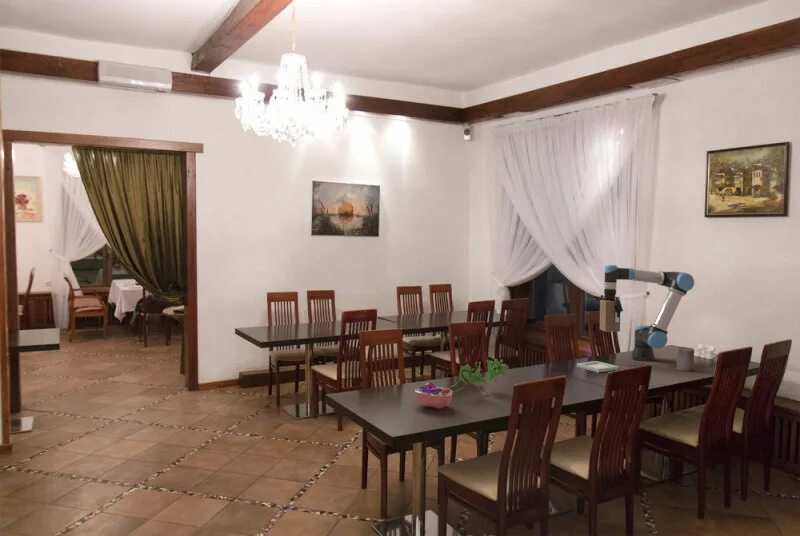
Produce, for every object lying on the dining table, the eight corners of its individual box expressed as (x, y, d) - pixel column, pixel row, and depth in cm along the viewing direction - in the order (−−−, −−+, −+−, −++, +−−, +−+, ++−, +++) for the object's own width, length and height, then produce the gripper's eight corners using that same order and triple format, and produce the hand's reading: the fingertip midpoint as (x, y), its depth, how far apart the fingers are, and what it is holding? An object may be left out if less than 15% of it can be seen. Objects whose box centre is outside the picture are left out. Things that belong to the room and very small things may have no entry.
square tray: (596, 364, 385) (597, 361, 385) (618, 369, 369) (618, 366, 369) (576, 366, 377) (576, 363, 377) (598, 372, 361) (598, 369, 361)
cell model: (433, 415, 270) (433, 391, 269) (407, 405, 286) (408, 382, 286) (461, 409, 280) (461, 386, 279) (434, 399, 296) (434, 377, 296)
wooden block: (620, 331, 383) (620, 301, 382) (605, 332, 382) (605, 301, 381) (614, 329, 393) (614, 299, 392) (599, 329, 392) (599, 299, 391)
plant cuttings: (448, 410, 301) (475, 392, 287) (435, 380, 308) (460, 360, 294) (493, 399, 324) (519, 381, 309) (479, 371, 331) (505, 352, 317)
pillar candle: (689, 368, 376) (690, 345, 375) (695, 371, 366) (696, 348, 366) (674, 368, 377) (674, 344, 376) (679, 371, 367) (680, 347, 367)
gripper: (591, 287, 395) (591, 318, 396) (621, 290, 373) (620, 323, 375) (599, 286, 399) (599, 318, 400) (629, 289, 377) (628, 322, 378)
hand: (609, 320), depth 387 cm, fingers closed on wooden block, 12 cm apart
